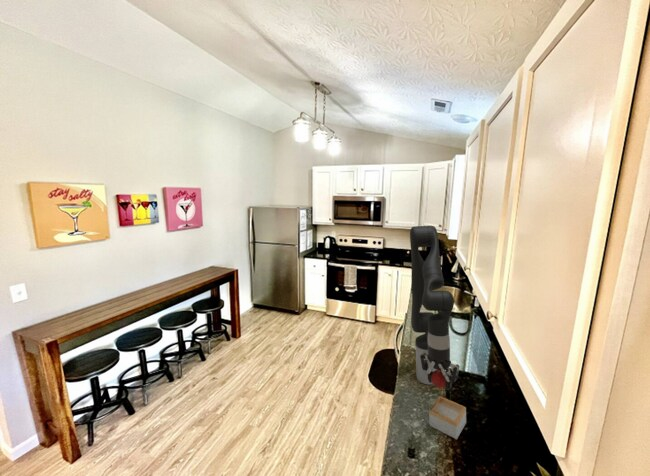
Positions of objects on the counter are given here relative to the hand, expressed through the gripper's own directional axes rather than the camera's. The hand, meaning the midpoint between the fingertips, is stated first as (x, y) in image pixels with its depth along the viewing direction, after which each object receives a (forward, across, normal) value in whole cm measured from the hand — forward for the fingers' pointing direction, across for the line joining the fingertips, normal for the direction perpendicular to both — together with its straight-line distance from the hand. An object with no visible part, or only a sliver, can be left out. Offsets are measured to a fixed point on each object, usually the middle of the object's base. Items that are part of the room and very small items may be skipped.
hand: (439, 385), depth 103 cm
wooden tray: (+17, -2, -4) cm, 18 cm away
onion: (+1, 0, 0) cm, 1 cm away
